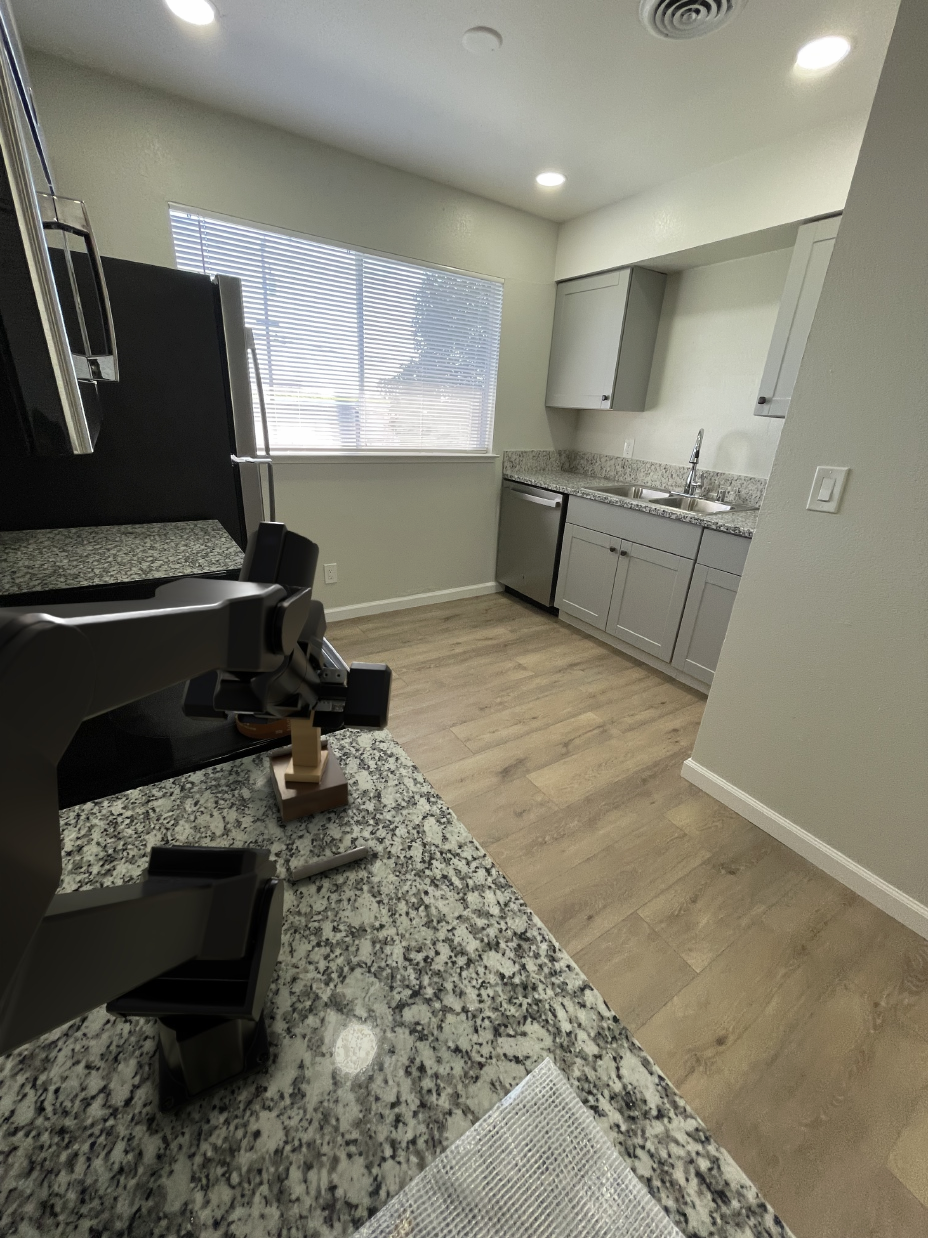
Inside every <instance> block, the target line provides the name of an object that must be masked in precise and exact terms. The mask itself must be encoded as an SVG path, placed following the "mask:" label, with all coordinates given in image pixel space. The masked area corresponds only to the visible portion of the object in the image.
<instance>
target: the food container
mask: <svg viewBox="0 0 928 1238" xmlns="http://www.w3.org/2000/svg"><path fill="white" fill-rule="evenodd" d="M233 714H234V718H235V722H236V723H235V724H236V727H237V730H238V732H239V733H241V734H242V735H244V736H246V737H248V738H252V739H258V740H272V739H279V738H282V737H285V736H289V735H291V719H282V720H279V721H276V722H273V723H270V724H267V725H266V724H248V723H241V722H239V721H238V718H237V716H238V714H237V713H233Z"/></svg>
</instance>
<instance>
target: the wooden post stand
mask: <svg viewBox="0 0 928 1238" xmlns="http://www.w3.org/2000/svg"><path fill="white" fill-rule="evenodd" d="M314 712H315V711H311V716H310V720H298V719H291V734H290V737H291V746H292V758H291V760H290V762H289V764H288V767H287V769H286V771H285V773H284V780H285V781H297V782H317V783H319V782H320V780H321V777H322V775H323V772H324V769H325V766H326V763H327V761H328V751H321V740H322V737H321V736H322V730H321V729H322V728H318V727H312V724H313V718H314Z"/></svg>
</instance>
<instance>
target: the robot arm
mask: <svg viewBox="0 0 928 1238" xmlns="http://www.w3.org/2000/svg"><path fill="white" fill-rule="evenodd" d="M258 523H259V524H258V527H257V529H256V530H254V531H252V532H251V533H250V535H249V536H248V539H247V544H246V548H245V552H244V556H243V561H242V564H241V567H240V573H239V577H238V580H231V579H209V578H208V579H207V578H195V577H184V578H180V579H177V580H175V581H171V582H168V583H165V584H162V585H160V586H158V587H157V588H155V595H154V597H153V596H152V597H151V598H147V599H133V600H132V599H131V600H129V599H128V600H114V601H113V600H112V601H95V602H80V603H79V602H78V603H61V604H42V605H41V604H39V605H23V606H10V607H9V606H8V607H7V606H5V607H0V1058H2V1057H5V1056H6V1055H8V1054H10V1053H12V1052H14V1051H16V1050H18V1049H20V1048H22V1047H23V1046H25V1045H28V1044H29V1043H31V1042H34V1041H35V1040H37V1039H40V1038H42V1037H43V1036H45V1035H47V1034H49V1033H51V1032H53V1031H55V1030H57V1029H59V1028H61V1027H63V1026H65V1025H66V1024H68V1023H71V1022H73V1021H74V1020H76V1019H78V1018H80V1017H82V1016H85V1015H86V1014H88V1013H90V1012H93V1011H94V1010H97V1009H99V1008H100V1007H103V1006H104V1005H105V1012H106V1013H107V1014H109V1015H110V1016H112V1017H114V1018H116V1019H127V1018H155V1019H156V1024H157V1027H158V1028H157V1029H158V1112H159V1114H160V1116H161V1117H164V1118H166V1117H170V1116H171V1115H174V1114H176V1113H179V1111H181V1110H184V1109H185V1108H188V1107H191V1105H195V1103H197V1102H200V1101H202V1100H204V1099H205V1098H207V1097H209V1096H212V1095H215V1094H216V1093H217V1092H219V1091H220V1092H221V1091H222V1090H224V1089H225V1088H228V1087H230V1086H232V1085H234V1084H236V1083H238V1082H239V1081H241V1080H243V1079H246V1078H248V1077H250V1076H252V1075H254V1074H256V1073H258V1072H259V1071H260V1072H261V1071H262V1070H264V1069H265V1068H267V1067H268V1066H269V1064H270V1063H271V1050H270V1049H271V1048H270V1043H269V1037H268V1031H267V1024H266V1019H265V1013H264V1004H265V1001H266V998H267V994H268V992H269V988H270V985H271V982H272V979H273V975H274V973H275V969H276V966H277V963H278V959H279V956H280V953H281V949H282V934H283V920H284V919H283V917H284V906H285V905H284V904H285V881H284V879H283V878H275V877H276V876H277V872H278V866H277V864H276V863H275V861H273V859H272V860H271V859H270V856H271V854H272V849H271V848H258V847H256V848H255V847H238V846H237V847H234V846H212V845H211V846H210V845H190V844H172V845H171V846H162V845H161V846H160V845H152V846H151V847H150V851H149V855H148V861H147V865H146V867H145V868H143V869H142V870H141V873H140V876H139V881H138V882H131V883H126V884H124V883H123V884H118V885H111V886H104V887H96V888H89V889H83V890H75V891H68V892H60V893H57V891H58V889H59V887H60V882H61V879H62V876H63V875H62V874H63V869H64V868H63V853H62V835H61V819H60V818H61V817H60V802H59V787H58V786H59V785H58V766H59V765H58V764H59V763H60V761H61V759H62V758H63V756H64V754H65V753H66V751H67V749H68V747H69V746H70V744H71V742H72V740H73V739H74V737H75V735H76V733H77V731H78V730H79V728H80V726H81V724H82V723H83V722H85V721H88V720H91V719H92V718H95V717H97V716H100V715H102V714H105V713H108V712H110V711H114V710H116V709H118V708H121V707H123V706H125V705H128V704H131V703H134V702H136V701H138V700H142V699H144V698H147V697H149V696H151V695H154V694H156V693H160V692H161V691H165V690H167V689H169V688H171V687H174V686H177V685H180V684H182V683H185V686H184V689H183V693H182V697H181V701H180V706H181V712H182V713H183V714H184V716H185V717H186V718H188V719H190V720H192V721H198V722H200V721H201V722H213V723H214V722H215V723H216V722H217V723H222V722H227V721H228V718H229V714H228V713H227V712H232V713H233V714H234V713H237V714H238V716H237V718H238V721H239V722H241V723H248V724H266V725H267V724H270V723H273V722H276V721H279V720H282V719H298V720H310V716H311V711H315V712H314V718H313V724H312V727H318V728H321V729H340V728H342V727H344V728H346V729H350V730H355V731H356V730H357V731H358V730H359V731H374V732H375V731H377V732H382V731H383V730H385V728H387V727H388V726H389V717H390V716H389V715H390V705H391V696H392V686H393V676H394V675H393V670H392V669H391V668H390V666H389V665H388V664H387V663H376V662H363V661H362V662H360V661H351V663H350V666H349V669H347V668H339V667H338V668H337V667H325V662H326V657H325V655H324V654H323V645H324V643H323V641H324V638H325V634H326V632H327V629H328V626H327V619H326V614H325V613H326V612H325V608H324V603H323V602H322V601H321V600H318V599H313V598H312V597H313V590H314V583H315V579H316V572H317V565H318V561H319V556H320V547H319V545H318V544H317V543H316V542H314V541H312V540H311V539H309V538H308V537H306V536H304V535H303V534H300V533H299V532H295V531H293V530H288V527H287V525H286V523H284V522H272V521H259V522H258ZM262 1057H265V1059H264V1060H262V1061H261V1060H260V1059H261V1058H262ZM169 1102H171V1104H170V1105H169V1106H168V1107H165V1106H166V1105H167V1104H168V1103H169Z"/></svg>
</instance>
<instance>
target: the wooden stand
mask: <svg viewBox="0 0 928 1238" xmlns="http://www.w3.org/2000/svg"><path fill="white" fill-rule="evenodd" d="M321 751H328V761H327V763H326V766H325V769H324V772H323V775H322V777H321V780H320V782H319V783H317V782H297V781H285V780H284V773H285V771H286V769H287V767H288V764H289V762H290V760H291V758H292V745H290V746H286V747H281V748H277V749H272V750H271V754H270V755H268V760H269V761H268V763H269V776H270V781H271V783H272V787H273V791H274V795H275V798H276V801H277V805H278V808H279V812H280V816H281V818H282V823H286V822H289V821H293V820H296V819H300V818H304V817H307V816H311V815H313V814H317V813H322V812H324V811H328V810H331V809H336V808H339V807H342V806H345V805H348V804H349V782H348V780H347V778H346V776H345V774H344V771H343V769H342V767H341V765H340V763H339V761H338V758H337V757H336V754H335V752H334V750H333V748H332V746H331V744H330V742H329V741H328V738H323V739H322V738H321ZM367 856H368V853H367V848H366V846H365V845H363V846H360V847H356V848H354V849H350V850H348V851H345V852H342V853H338V854H335V855H332V856H330V857H326V858H323V859H320V860H317V861H314V862H312V863H309V864H306V865H305V864H304V865H302V866H299V867H297V868H293V869H292V870H291V876H292V880H293V882H296V881H299V880H302V879H304V878H308V877H310V876H313V875H316V874H319V873H323V872H326V871H329V870H331V869H334V868H337V867H339V866H343V865H345V864H346V865H347V864H349V863H351V862H354V861H357V860H360V859H363V858H366V857H367Z"/></svg>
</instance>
